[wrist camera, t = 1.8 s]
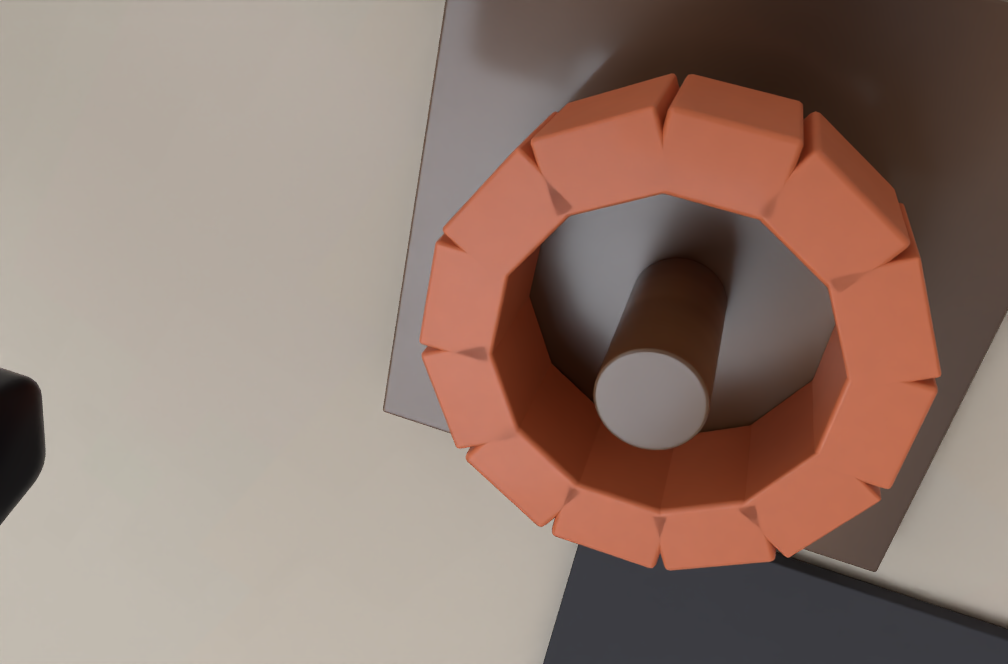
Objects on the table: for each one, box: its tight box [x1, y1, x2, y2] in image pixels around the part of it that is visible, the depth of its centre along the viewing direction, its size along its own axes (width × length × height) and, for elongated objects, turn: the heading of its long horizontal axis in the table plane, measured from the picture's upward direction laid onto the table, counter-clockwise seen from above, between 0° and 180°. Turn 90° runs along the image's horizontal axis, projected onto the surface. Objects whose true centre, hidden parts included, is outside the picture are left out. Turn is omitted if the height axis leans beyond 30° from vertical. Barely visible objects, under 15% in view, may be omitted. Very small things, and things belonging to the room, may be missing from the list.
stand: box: [383, 0, 1008, 572], centre depth 16 cm, size 11×11×6 cm
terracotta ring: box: [419, 73, 941, 571], centre depth 15 cm, size 7×7×2 cm
